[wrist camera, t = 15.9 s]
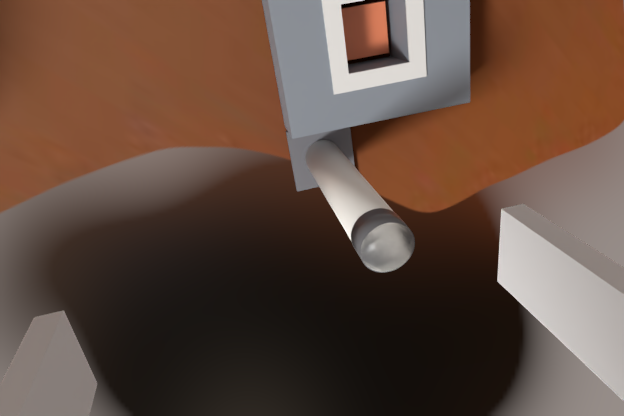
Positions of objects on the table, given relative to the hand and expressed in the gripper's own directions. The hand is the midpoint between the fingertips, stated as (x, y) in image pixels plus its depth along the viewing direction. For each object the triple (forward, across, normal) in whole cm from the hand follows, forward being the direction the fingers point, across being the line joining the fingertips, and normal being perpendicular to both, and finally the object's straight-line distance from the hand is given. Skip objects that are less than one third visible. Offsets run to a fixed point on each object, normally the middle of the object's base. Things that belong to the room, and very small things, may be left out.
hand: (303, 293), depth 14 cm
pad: (+30, +7, -7) cm, 32 cm away
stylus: (+30, +7, -7) cm, 31 cm away
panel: (+30, +12, +4) cm, 33 cm away
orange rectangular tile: (+30, +12, +4) cm, 33 cm away
